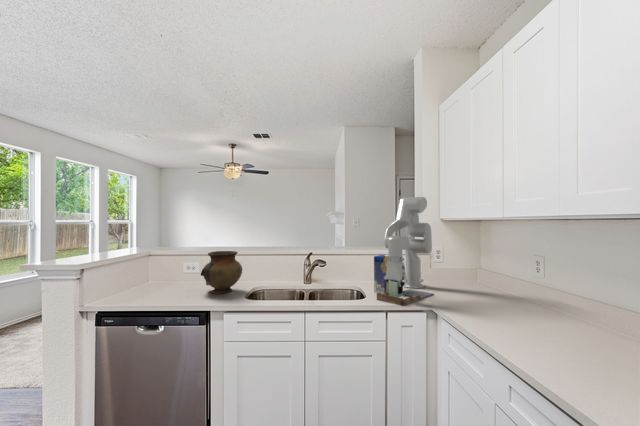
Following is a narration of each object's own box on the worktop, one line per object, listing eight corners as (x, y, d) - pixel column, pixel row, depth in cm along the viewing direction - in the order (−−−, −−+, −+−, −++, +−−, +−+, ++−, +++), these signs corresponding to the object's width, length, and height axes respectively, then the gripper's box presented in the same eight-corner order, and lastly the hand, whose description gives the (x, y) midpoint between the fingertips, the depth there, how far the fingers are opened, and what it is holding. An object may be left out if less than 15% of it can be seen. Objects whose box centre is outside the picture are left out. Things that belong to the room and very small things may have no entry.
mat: (409, 290, 191) (409, 289, 191) (433, 294, 179) (433, 293, 179) (396, 294, 182) (396, 292, 182) (421, 299, 170) (421, 297, 170)
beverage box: (390, 290, 193) (390, 255, 193) (385, 293, 183) (384, 257, 184) (380, 288, 196) (379, 254, 197) (374, 292, 187) (373, 256, 187)
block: (395, 294, 171) (395, 279, 172) (402, 295, 168) (402, 281, 168) (388, 296, 167) (388, 281, 168) (396, 297, 164) (396, 282, 164)
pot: (204, 299, 173) (203, 255, 173) (197, 291, 193) (196, 252, 193) (247, 292, 185) (246, 252, 186) (237, 286, 206) (236, 249, 206)
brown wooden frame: (396, 294, 181) (396, 288, 182) (420, 299, 170) (420, 292, 170) (376, 299, 169) (376, 293, 169) (401, 305, 157) (401, 298, 157)
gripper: (412, 260, 164) (413, 294, 164) (386, 257, 177) (387, 289, 176) (405, 261, 159) (405, 296, 159) (378, 258, 172) (379, 291, 171)
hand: (395, 292), depth 168 cm, fingers closed on block, 5 cm apart
